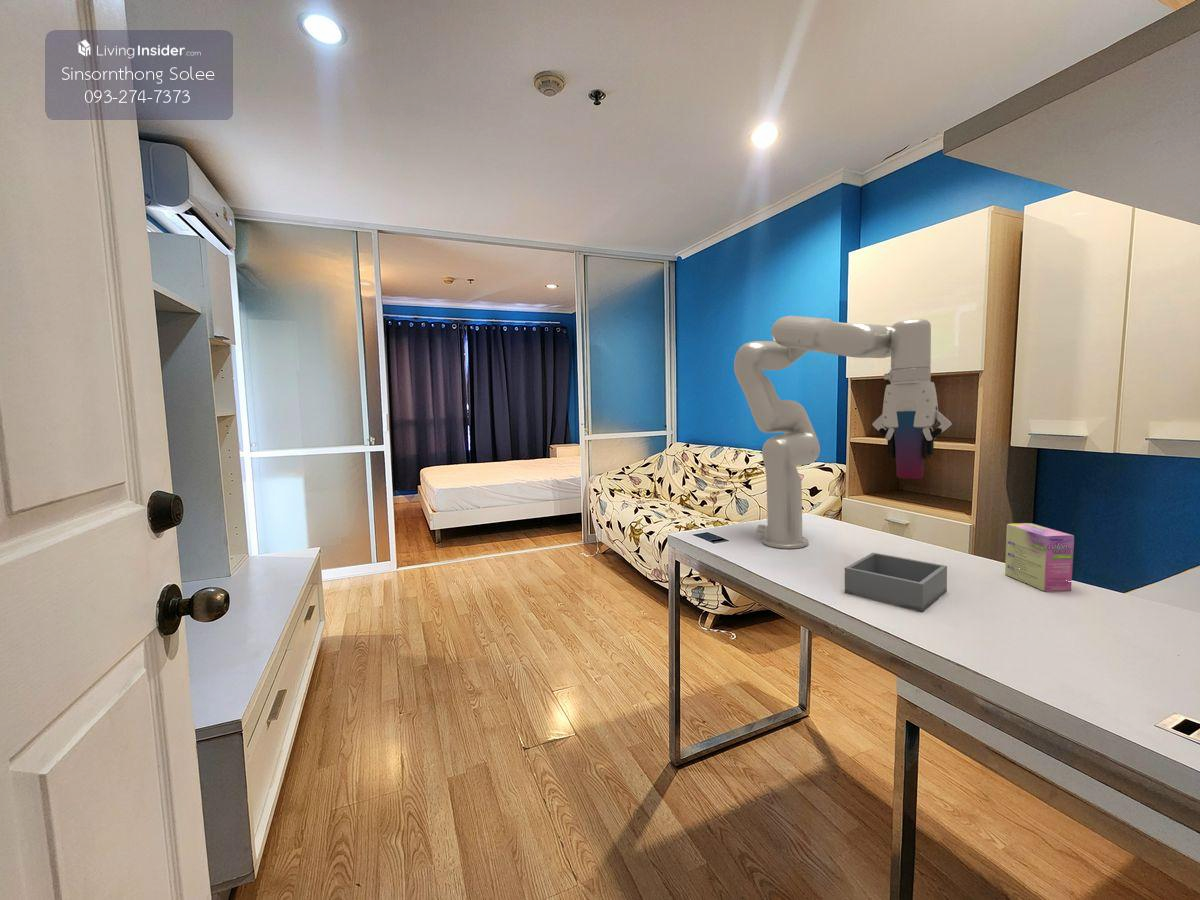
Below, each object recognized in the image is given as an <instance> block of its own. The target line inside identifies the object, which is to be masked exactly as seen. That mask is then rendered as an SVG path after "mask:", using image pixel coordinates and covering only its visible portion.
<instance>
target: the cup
mask: <svg viewBox="0 0 1200 900" xmlns="http://www.w3.org/2000/svg"><path fill="white" fill-rule="evenodd" d="M915 414H916V411H897V419H898V427H897V428H894V440H895V455H896V457H895V465H896V466H895V467H896V469H895V470H896V477H897V478H898V479H910V480H911V479H912V480H914V479H923V478H924V468H925V459H924V458H923V441H925V435H924V433H923V428H915V427H914V418H915Z"/></svg>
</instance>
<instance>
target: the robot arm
mask: <svg viewBox="0 0 1200 900" xmlns="http://www.w3.org/2000/svg"><path fill="white" fill-rule="evenodd" d="M771 338H772V340H773V341H771V340H754V341H749V342H746V343H743V344H742V345H741V346H740V347H739V348H738V350H737V351H736V353H735V357H734V361H733V370H734V371H733V372H734V374H735V377H736V380H737V382H738V384H739V386H740V388H741V390H742V392H743V393H744V396H745V399H746V402H747V404H748V408H749V409H750V412H751V415H752V417H753V420H754V422H755V425H756V426H757V428H758V430H759V431H760V432H762V433H764V434H776V433H777V434H778V433H783V434H778V435H777V434H776V435H773V436H771V437H770V438H768V439H767V440H765V442H764V444H763V446H762V448H761V449H762V450H761V452H762V453H761V456H762V461H763V466H764V470H765V479H766V480H765V481H766V482H765V483H766V513H767V514H766V515H767V516H766V517H767V518H766V520H767V523H766V525H764V524H758V525H757V527H756V532H757V533H760V534H761V533H762V534H763V537H762V540H761V541H762V542H761V543H762V544H764V545H765V546H768V547H770V548H772V547H773V548H776V549H786V550H787V549H791V550H792V549H799V548H804V547H806V546H808V545H809V539H808V538H807V537H805V536H803V488H802V487H803V486H802V479H801V476H800V473H799V471H798V469H797V467H799V466H805V465H809V464H812V463H813V464H814V463H815V461H816V460H817V459H818V458H819V456H820V453H821V452H820V451H821V448H820V447H821V446H820V442H819V439H818V436H817V434H816V432H815V430H814V426H813V424H812V422H811V420H810V418H809V415H808V412H807V410H806V409H805V407H803V405H802V404H801V403H800V402H798V401H795V400H793V399H792V400H791V399H783V400H782V399H781V398H780V397H779V395H778V394H777V392H776V389H775V386H774V385H773V382H772V381H771V380H770V379H769V378H768V376H767V375H765V373H764V372H763V371H781V370H784V369H786V368H788V367H791V365H792V364H794V363H795V362H796V361H798V360H799V359H800V358H801V357H803V356H804V355H806V354H807V353H808V352H809V351H810V352H811V351H812V352H817V353H821V354H822V353H823V354H825V353H826V354H828V355H829V354H830V355H836V356H842V357H849V358H855V359H856V358H857V359H865V358H867V359H869V358H870V359H871V358H872V359H885V358H890V370H889V372H888V373H884V374H883V378H884V379H883V380H888V381H889V382H890V384H886V385H885V390H884V397H883V404H882V413H881V414H880V416H879V417H877V418H876V419H875V420H874V421H873V422H872V423H871V424H872V426H873V427H874V428H875V429H876V430H877V431H878V432H879V434H881V435H882V436H883V437H884V438H885V440H887V454H889V458H891V459H892V458H896V455H895V440H894V428H897V427H898V419H897V411H916V414H915V418H914V427H915V428H923V433H924V435H925V441H923V458H924V460H929V459H931V457H932V456H934V449H935V448H934V445H935V443H934V441H935V440H936V438H937V437H939V436H940V435H941V434H942V433H943V432H944V431H946V430H947V429H948V428H950V427H951V426H952V422H951V421H950V420H949V419H948V418H947V417H946V416H945V415H943V413H941V412H940V411H939V407H938V406H939V405H938V395H937V391H936V390H937V389H936V385H935V382H934V381H931V380H932V379H931V378H932V377H931V374H932V373H931V371H932V370H931V364H932V363H931V362H932V361H931V360H932V359H931V358H932V357H931V356H932V354H931V353H932V325H931V322H930V321H929V320H928V319H923V318H921V319H920V318H918V319H917V318H915V319H906V320H901V321H897V322H895V323H894V324H893V325H884V324H883V325H882V324H867V323H865V324H863V323H851V322H838V321H834V320H833V319H831V318H825V317H823V318H822V317H814V316H813V317H811V316H802V315H787V316H783V317H779V318H778V319H777V320H776V321H775V322H774V323H773V325H772V327H771ZM938 423H940V425H939V426H938V427H936V428H935V429H933V427H935V426H937V425H938Z"/></svg>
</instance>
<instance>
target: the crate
mask: <svg viewBox="0 0 1200 900" xmlns="http://www.w3.org/2000/svg"><path fill="white" fill-rule="evenodd" d="M947 591H948V565H944V564H939V563H933V562H927V561H921V560H916V559H912V558H905V557H900V556H894V555H890V554H889V555H888V554H883V553H877V552H871V553H869V554H868V555H866V556H864V557H863V558H860V559H859V560H857V561H854V562H853V563H851V564H849V565H847V566H845V567H844V594H848V595H851V596H856V597H860V598H863V599H867V600H871V601H875V602H880V603H884V604H887V605H891V606H895V607H899V608H903V609H908V610H912V611H916V612H921V613H923V612H925V611H926V610H927V609H928V608H929V607H930V606H932V605H933V604H934V603H936V601H937V600H938V599H940V598H941V597H942V596H943V595H944V594H945V592H946V593H947Z"/></svg>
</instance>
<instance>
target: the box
mask: <svg viewBox="0 0 1200 900" xmlns="http://www.w3.org/2000/svg"><path fill="white" fill-rule="evenodd" d="M1005 535H1006V537H1005V539H1006V540H1005V565H1004V566H1005V568H1004V575H1005V574H1006V575H1005V576H1008V577H1011V578H1013V579H1016V580H1017V581H1020V582H1022V583H1025V584H1026V583H1027V584H1026V585H1029V586H1031V587H1033V588H1035V587H1036V589H1038V590H1040V591H1041V590H1042V592H1044V591H1054V592H1066V591H1065V590H1071V591H1072V582H1068V581H1072V579H1073V567H1074V565H1073V562H1074V549H1075V547H1074V546H1075V535H1074V534H1071V533H1067V532H1063V531H1060V530H1056V529H1052V528H1049V527H1045V526H1042V525H1039V524H1035V523H1030V522H1029V523H1028V522H1023V523H1020V522H1019V523H1007V524H1006V534H1005ZM1019 568H1020V569H1019ZM1066 580H1067V581H1066Z"/></svg>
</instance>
